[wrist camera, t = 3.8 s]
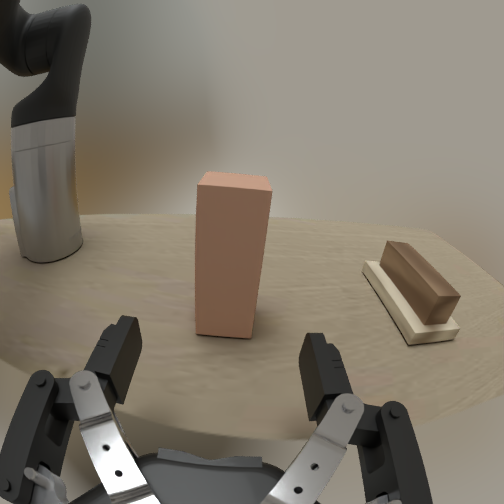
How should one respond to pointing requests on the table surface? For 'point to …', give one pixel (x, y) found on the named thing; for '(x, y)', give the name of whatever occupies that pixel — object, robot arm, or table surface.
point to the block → (229, 251)
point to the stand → (414, 294)
